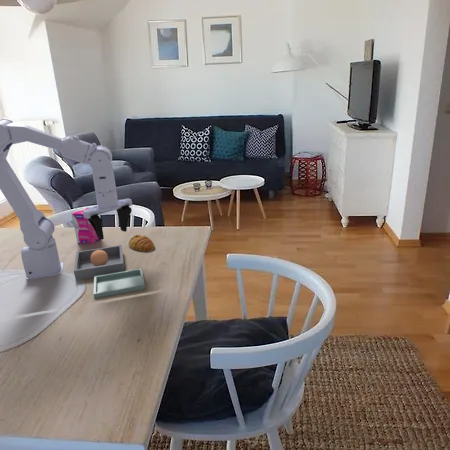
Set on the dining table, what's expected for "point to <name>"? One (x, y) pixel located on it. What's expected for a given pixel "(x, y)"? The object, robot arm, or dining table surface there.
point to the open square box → (88, 270)
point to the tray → (118, 283)
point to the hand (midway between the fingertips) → (112, 234)
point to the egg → (99, 258)
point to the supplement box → (83, 228)
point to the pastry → (141, 243)
